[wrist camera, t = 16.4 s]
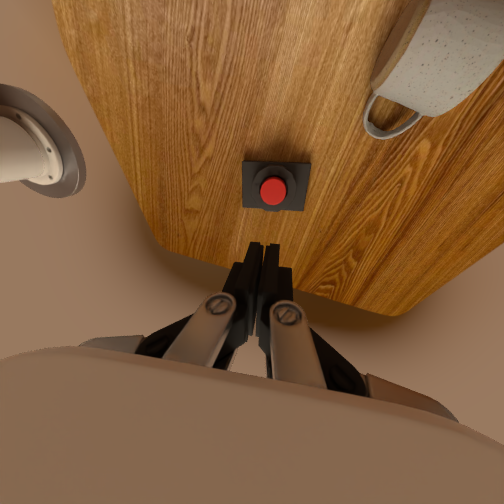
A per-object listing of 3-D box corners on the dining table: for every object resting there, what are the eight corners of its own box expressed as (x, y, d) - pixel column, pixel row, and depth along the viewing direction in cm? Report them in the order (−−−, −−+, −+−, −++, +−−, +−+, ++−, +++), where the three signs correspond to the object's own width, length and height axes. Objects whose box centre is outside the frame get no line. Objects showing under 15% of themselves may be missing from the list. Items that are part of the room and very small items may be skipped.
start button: (260, 200, 28) (259, 204, 27) (262, 175, 26) (260, 178, 25) (284, 202, 28) (284, 205, 26) (287, 177, 26) (287, 179, 24)
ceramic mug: (397, 5, 18) (457, -64, 12) (473, 31, 19) (572, -24, 12) (342, 128, 24) (362, 125, 18) (400, 147, 24) (441, 151, 18)
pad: (243, 205, 32) (240, 211, 29) (243, 160, 28) (239, 162, 25) (302, 209, 31) (304, 215, 28) (310, 162, 27) (313, 165, 24)
